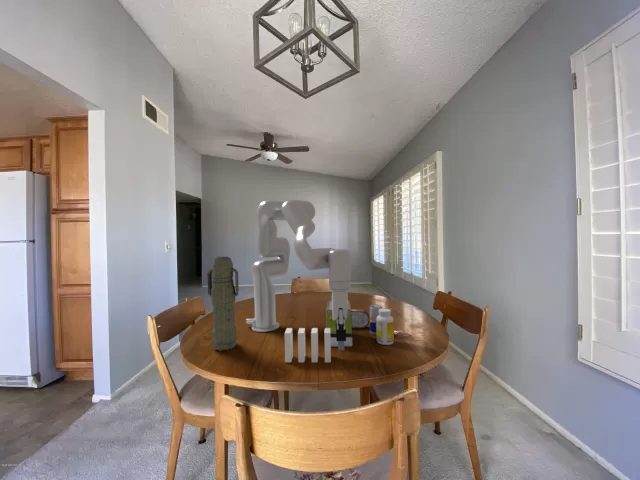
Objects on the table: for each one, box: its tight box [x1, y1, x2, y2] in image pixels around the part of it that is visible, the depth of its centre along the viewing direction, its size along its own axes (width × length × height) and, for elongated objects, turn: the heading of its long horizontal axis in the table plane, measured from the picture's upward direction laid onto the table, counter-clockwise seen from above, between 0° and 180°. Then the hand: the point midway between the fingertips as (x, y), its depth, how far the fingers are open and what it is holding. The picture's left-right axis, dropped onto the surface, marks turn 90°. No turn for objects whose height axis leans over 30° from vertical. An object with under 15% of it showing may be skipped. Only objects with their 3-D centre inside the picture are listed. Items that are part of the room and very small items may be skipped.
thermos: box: [206, 256, 240, 352], centre depth 110 cm, size 9×12×35 cm
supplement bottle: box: [376, 308, 395, 346], centre depth 112 cm, size 7×7×13 cm
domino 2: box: [297, 327, 306, 363], centre depth 98 cm, size 2×5×10 cm, turn 178°
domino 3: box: [310, 327, 319, 363], centre depth 98 cm, size 2×5×10 cm, turn 178°
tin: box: [351, 308, 370, 329], centre depth 130 cm, size 15×3×8 cm, turn 84°
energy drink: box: [368, 303, 383, 336], centre depth 122 cm, size 5×5×12 cm
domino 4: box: [323, 327, 332, 363], centre depth 98 cm, size 2×5×10 cm, turn 178°
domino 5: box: [337, 318, 345, 351], centre depth 97 cm, size 2×5×10 cm, turn 177°
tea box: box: [325, 299, 353, 348], centre depth 116 cm, size 15×10×15 cm, turn 177°
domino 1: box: [284, 327, 294, 363], centre depth 98 cm, size 2×5×10 cm, turn 178°
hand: (340, 337), depth 97 cm, fingers closed on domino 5, 4 cm apart
